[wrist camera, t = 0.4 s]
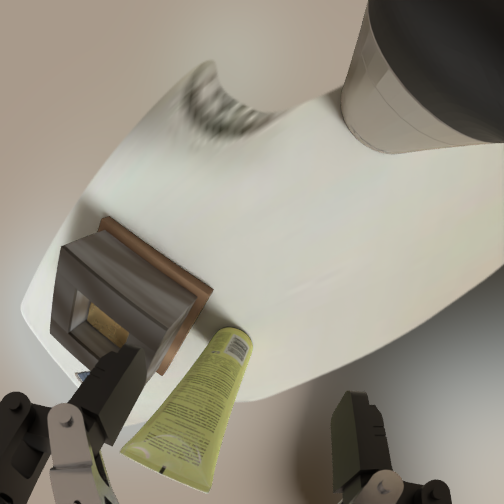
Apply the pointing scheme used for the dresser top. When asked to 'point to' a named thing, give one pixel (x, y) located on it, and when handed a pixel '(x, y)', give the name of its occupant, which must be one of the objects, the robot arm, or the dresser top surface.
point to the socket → (123, 297)
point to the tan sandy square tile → (107, 326)
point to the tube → (195, 415)
